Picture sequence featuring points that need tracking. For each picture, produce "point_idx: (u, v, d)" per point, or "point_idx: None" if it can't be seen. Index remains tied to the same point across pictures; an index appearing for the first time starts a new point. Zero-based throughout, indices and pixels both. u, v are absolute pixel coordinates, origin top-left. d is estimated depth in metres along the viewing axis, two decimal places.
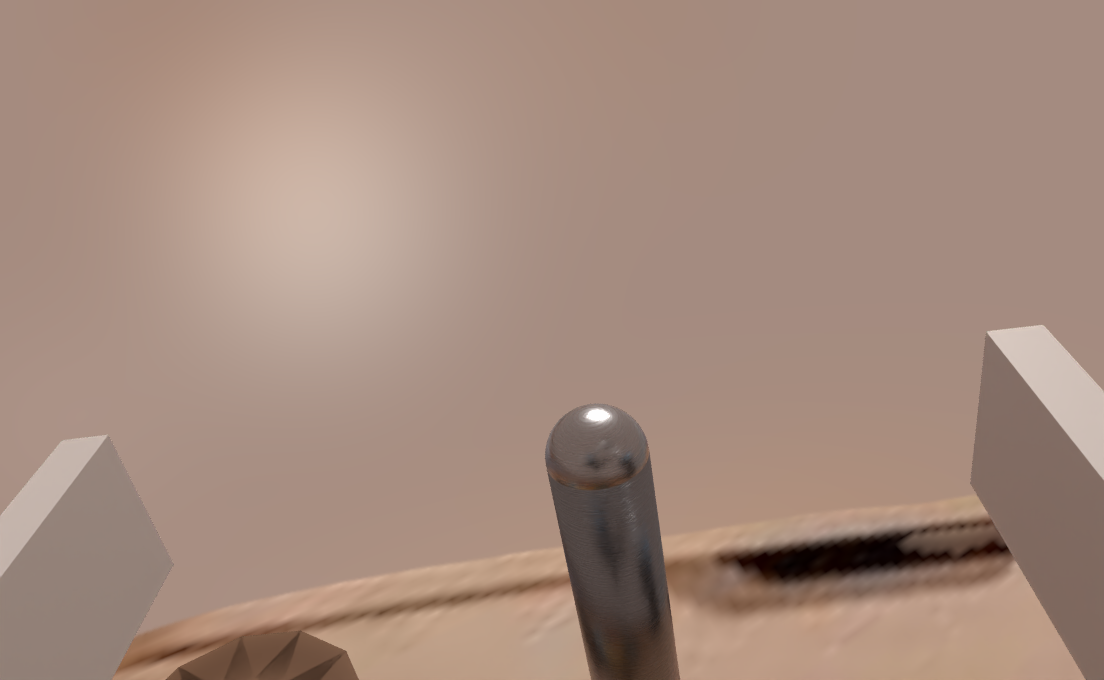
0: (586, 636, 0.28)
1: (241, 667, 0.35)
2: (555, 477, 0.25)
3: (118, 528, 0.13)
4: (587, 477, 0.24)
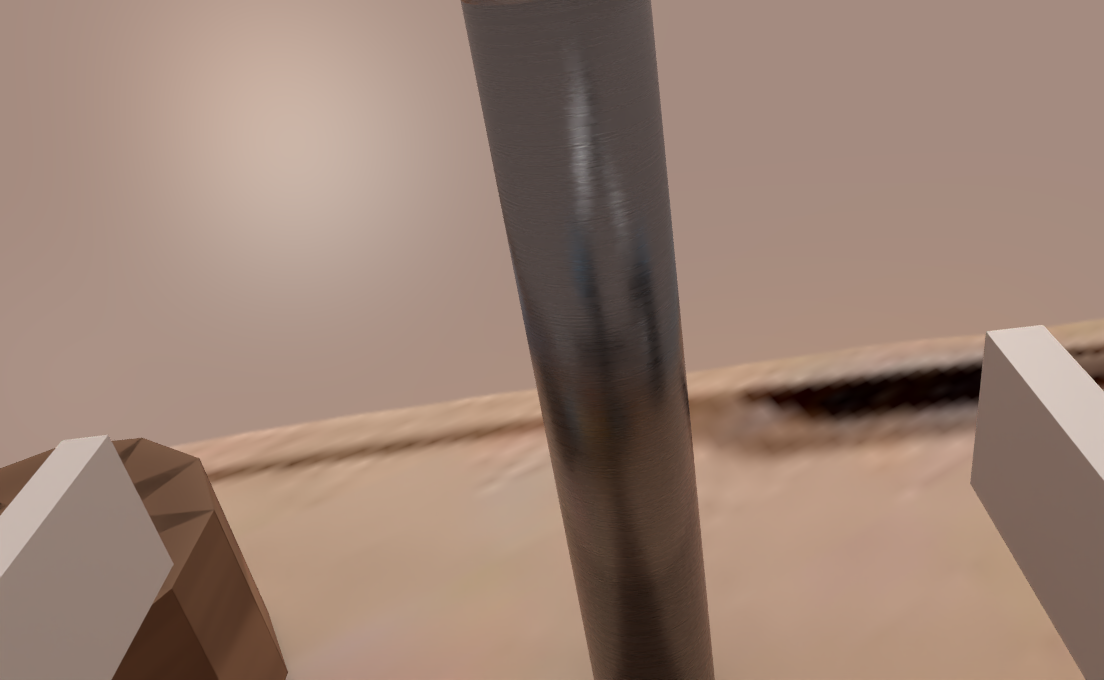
0: (539, 362, 0.17)
1: None
2: None
3: (118, 528, 0.13)
4: None
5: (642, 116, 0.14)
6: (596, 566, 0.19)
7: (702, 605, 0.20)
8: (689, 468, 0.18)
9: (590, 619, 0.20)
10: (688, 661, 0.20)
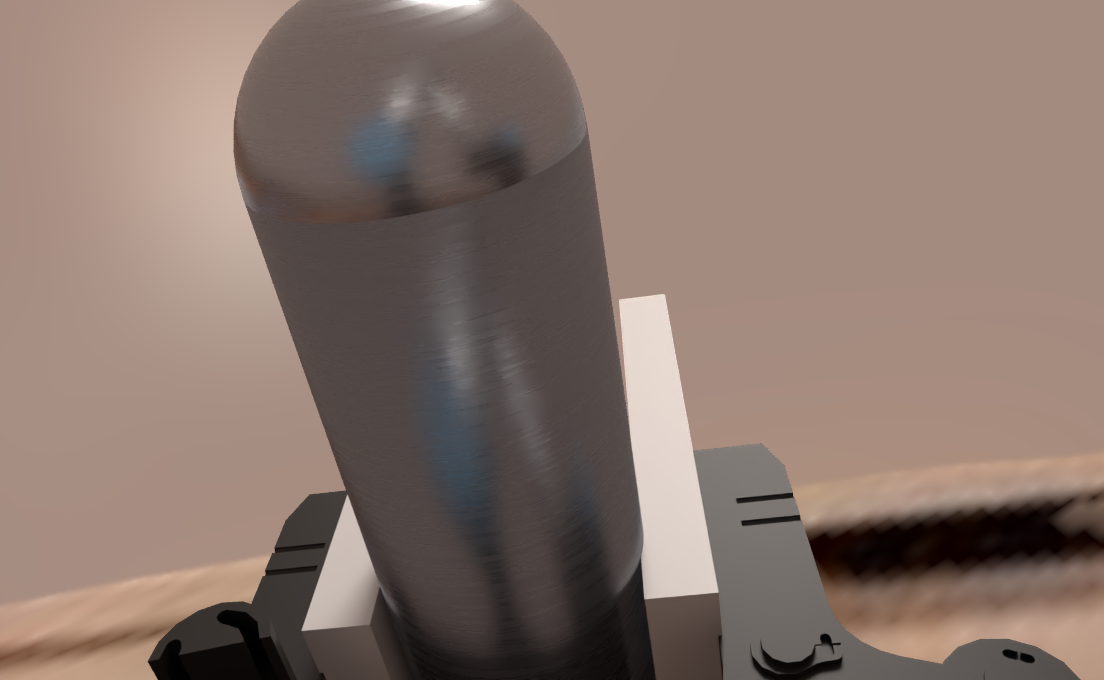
0: None
1: None
2: (249, 198, 0.07)
3: None
4: (340, 169, 0.06)
5: (581, 391, 0.08)
6: None
7: None
8: None
9: None
10: None
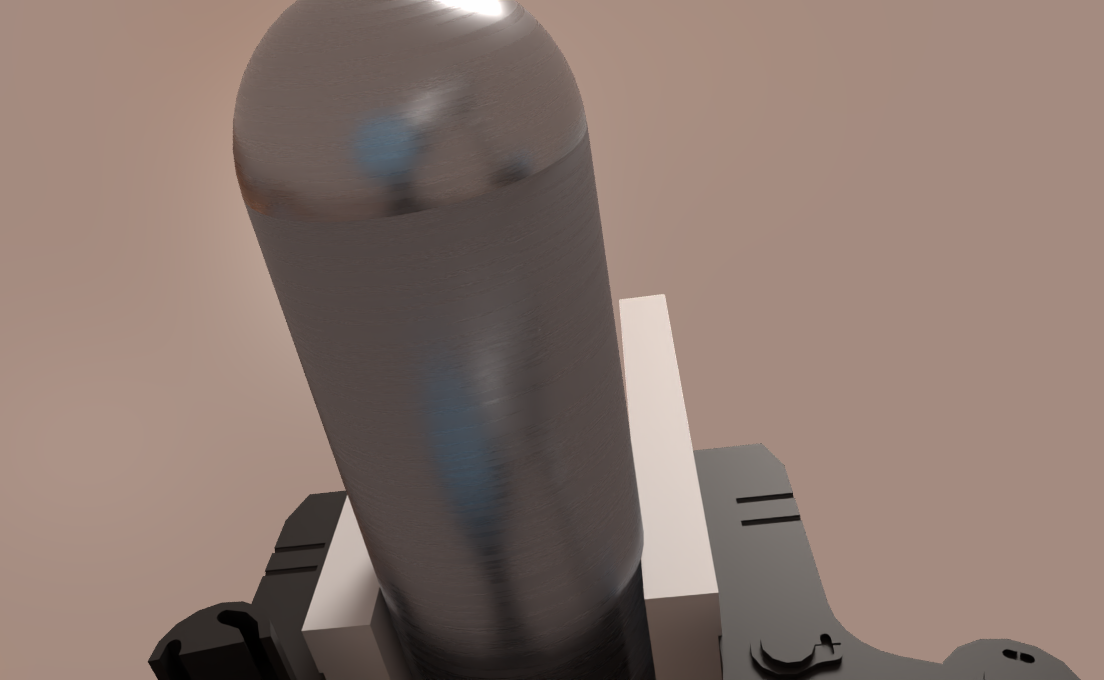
0: None
1: None
2: (247, 196, 0.07)
3: None
4: (339, 167, 0.06)
5: (581, 390, 0.08)
6: None
7: None
8: None
9: None
10: None
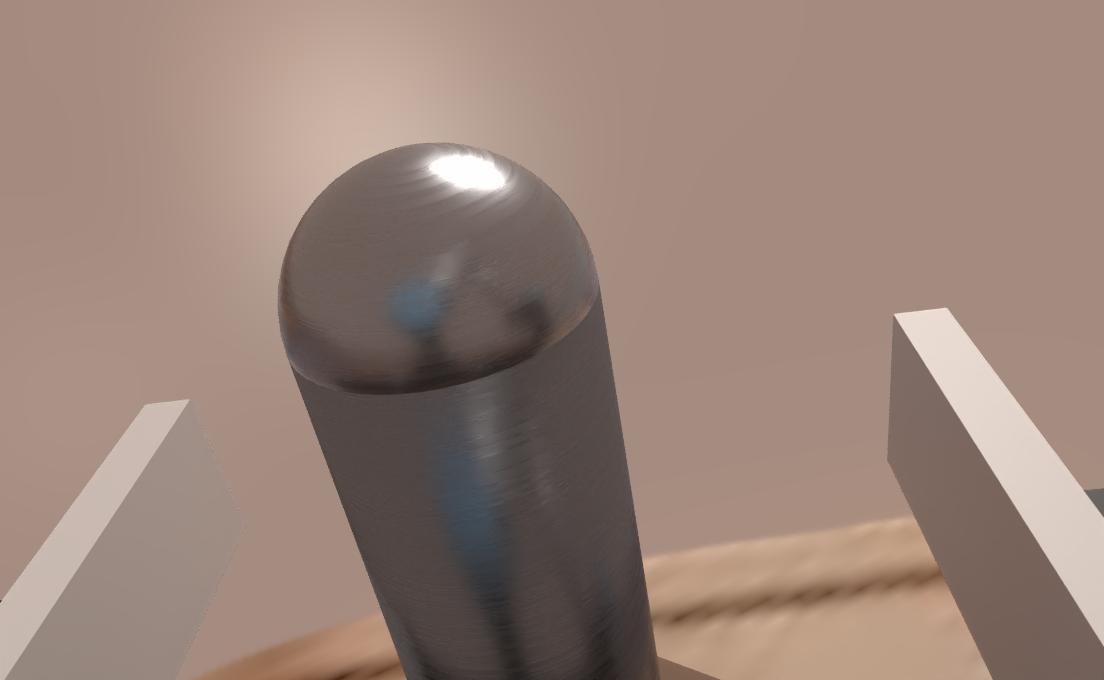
0: None
1: None
2: (293, 361, 0.08)
3: (200, 488, 0.14)
4: (379, 349, 0.07)
5: (595, 520, 0.09)
6: None
7: None
8: None
9: None
10: None
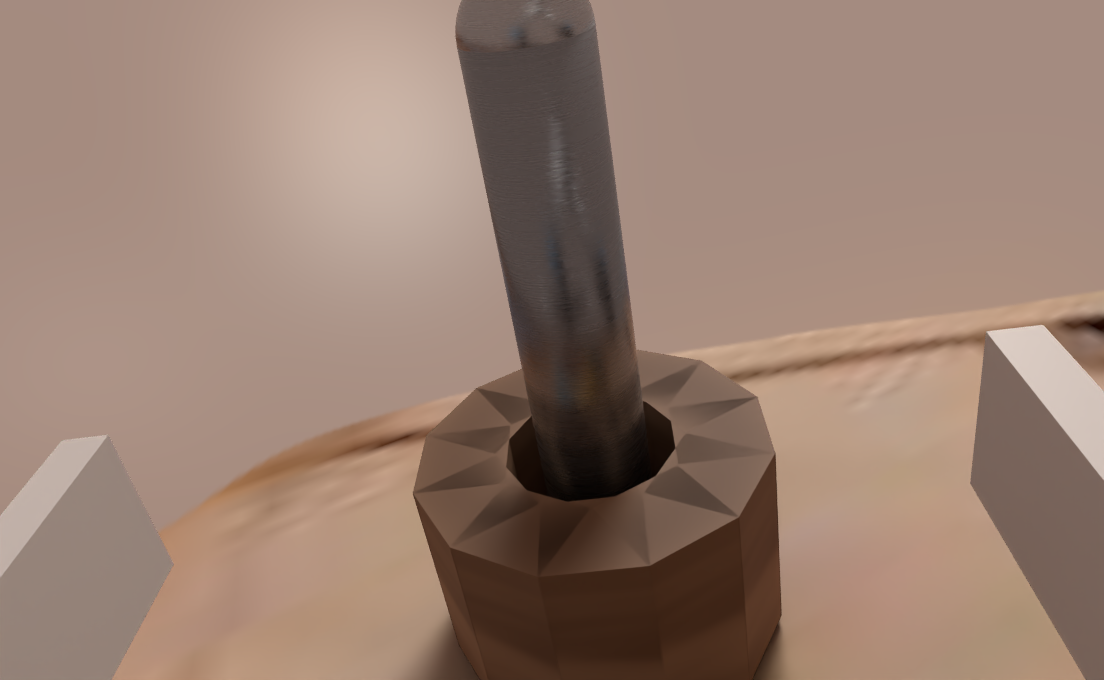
0: (518, 322, 0.22)
1: None
2: (465, 46, 0.18)
3: (118, 528, 0.13)
4: (507, 30, 0.18)
5: (592, 132, 0.19)
6: (565, 487, 0.24)
7: None
8: (637, 408, 0.23)
9: None
10: None
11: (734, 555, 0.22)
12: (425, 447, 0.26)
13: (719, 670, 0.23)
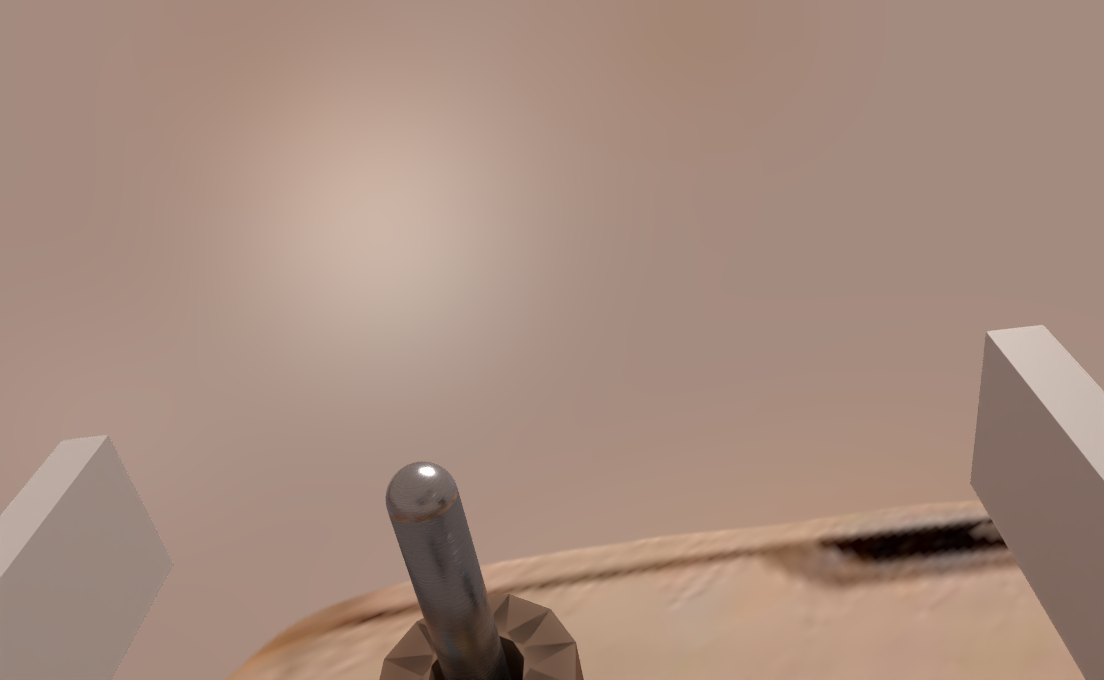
0: (426, 624, 0.40)
1: None
2: (390, 513, 0.36)
3: (118, 528, 0.13)
4: (409, 514, 0.36)
5: (457, 547, 0.37)
6: None
7: None
8: (497, 661, 0.41)
9: None
10: None
11: None
12: (383, 668, 0.44)
13: None
